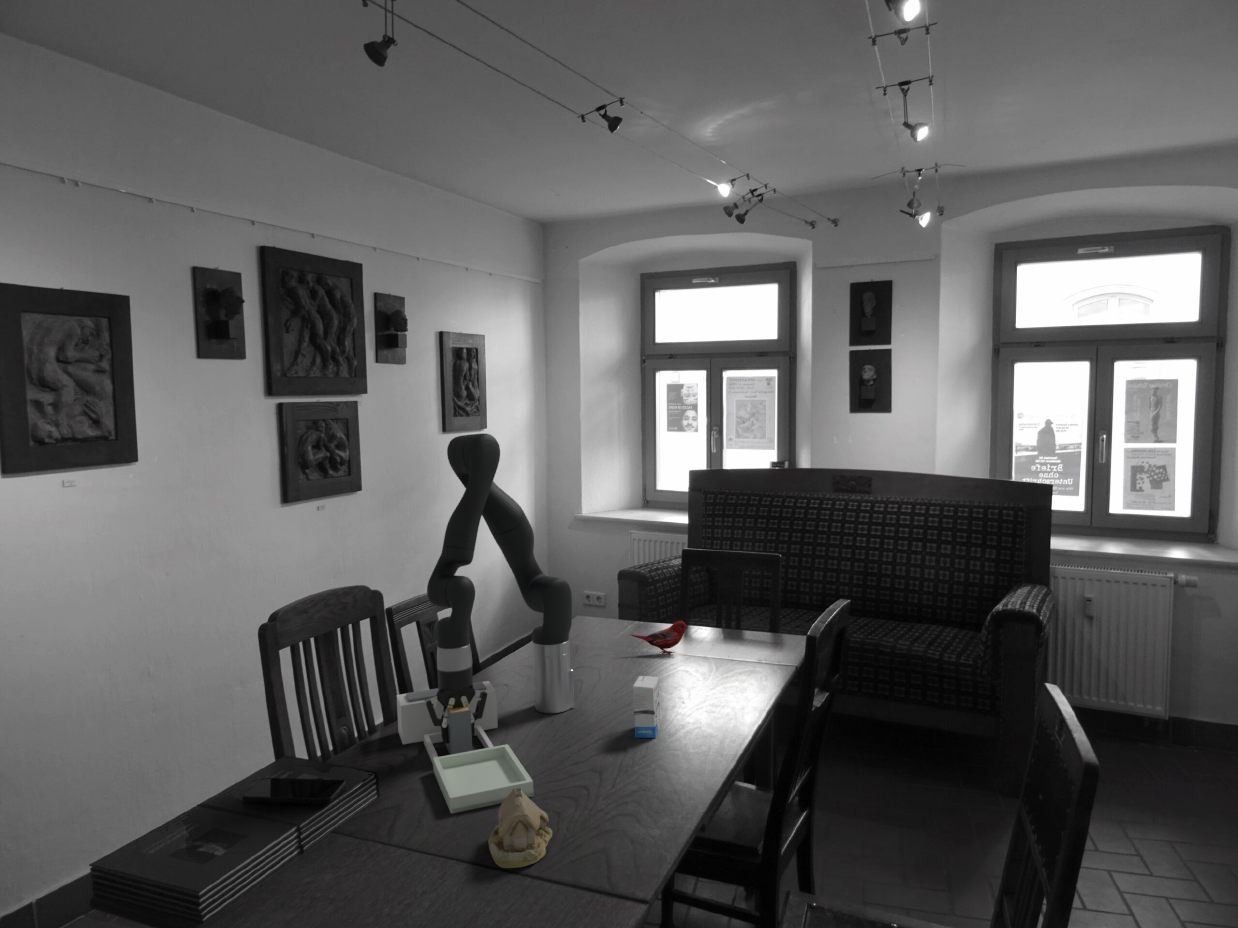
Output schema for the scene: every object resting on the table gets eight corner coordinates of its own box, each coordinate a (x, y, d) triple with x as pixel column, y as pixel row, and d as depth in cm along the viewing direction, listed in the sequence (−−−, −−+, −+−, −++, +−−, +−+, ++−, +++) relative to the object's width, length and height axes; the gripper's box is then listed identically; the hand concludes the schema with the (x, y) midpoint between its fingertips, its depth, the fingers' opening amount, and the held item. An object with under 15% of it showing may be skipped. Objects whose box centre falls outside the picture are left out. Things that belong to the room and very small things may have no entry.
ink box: (655, 738, 186) (653, 687, 186) (633, 737, 187) (632, 687, 187) (661, 724, 195) (659, 675, 194) (640, 723, 196) (638, 674, 195)
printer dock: (490, 716, 204) (488, 678, 203) (515, 753, 181) (513, 710, 180) (398, 732, 196) (396, 692, 195) (413, 772, 173) (410, 727, 172)
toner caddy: (465, 741, 188) (463, 698, 188) (472, 754, 181) (470, 709, 180) (445, 745, 187) (443, 701, 186) (452, 758, 179) (449, 713, 179)
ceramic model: (488, 829, 148) (486, 775, 148) (551, 823, 150) (549, 769, 149) (487, 872, 134) (484, 812, 134) (556, 864, 136) (553, 805, 135)
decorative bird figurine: (689, 654, 250) (688, 621, 249) (631, 656, 250) (630, 623, 250) (689, 651, 253) (688, 619, 252) (631, 653, 253) (630, 621, 252)
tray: (508, 757, 179) (507, 744, 179) (533, 796, 160) (533, 781, 160) (433, 771, 173) (432, 757, 173) (451, 813, 154) (450, 797, 154)
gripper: (482, 655, 189) (486, 728, 190) (419, 664, 184) (423, 739, 185) (490, 664, 182) (493, 740, 183) (424, 674, 177) (428, 752, 178)
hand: (458, 739), depth 184 cm, fingers closed on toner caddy, 4 cm apart
